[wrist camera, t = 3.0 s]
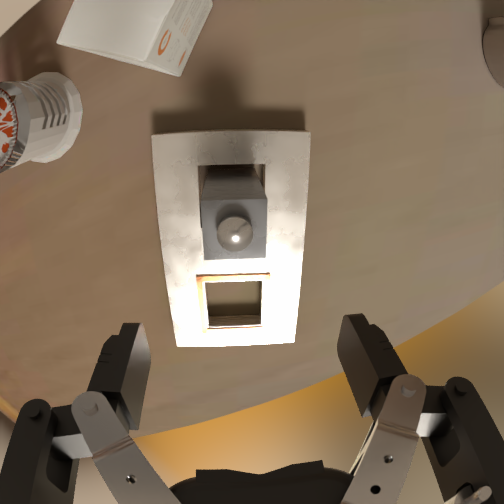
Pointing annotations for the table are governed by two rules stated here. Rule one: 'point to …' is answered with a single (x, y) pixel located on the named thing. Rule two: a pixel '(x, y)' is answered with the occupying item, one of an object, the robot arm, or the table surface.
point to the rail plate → (201, 271)
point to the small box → (137, 30)
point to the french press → (38, 118)
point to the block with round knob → (233, 215)
